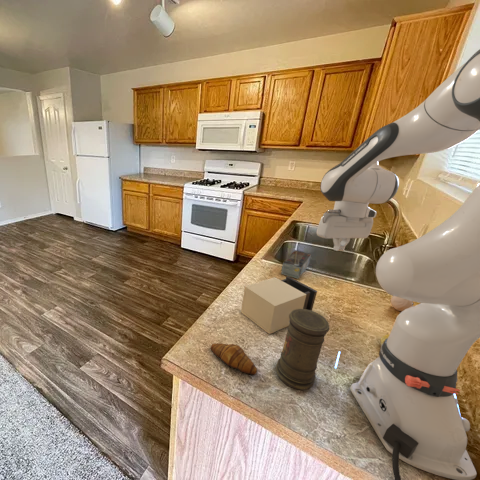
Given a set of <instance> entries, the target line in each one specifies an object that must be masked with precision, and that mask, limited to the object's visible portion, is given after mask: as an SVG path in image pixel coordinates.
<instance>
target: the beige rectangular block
mask: <svg viewBox="0 0 480 480" xmlns="http://www.w3.org/2000/svg"><path fill="white" fill-rule="evenodd" d="M281 280H282V279H280V278H277V277H275V276H273V277H271V278H268V279H264V280H261V281H257V282H255V283H251V284H247V285H245V286H244V289H243V295H242V303H241V309H240V313H241V314H243V315H244V316H245V317H246V318H248V319H249V320H250V321H252V323H254V324H256V325H257V326H258V327H259V328H261V329H262V330H263V331H264V332H266V333H267V334H268V335H271V334H273V333H275V332H278V331H280V330H282V329H285V328H288V326H289V324H290V323H289V320H290V319H289V315H290V313H291V312H292V311H293V310H295V309H303V306H304V302H305V299H306V295H307V294H305V293H303V292H301V291H299V290H298V289H296V288H294V287H292V286H290V285H288V284H287V283H285V282H283V281H281Z"/></svg>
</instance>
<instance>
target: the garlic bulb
mask: <svg viewBox="0 0 480 480" xmlns="http://www.w3.org/2000/svg"><path fill="white" fill-rule="evenodd" d="M390 305H391V306H392V308H393V309H394V310H396V311H398V312H402V311H403V310H405V309H407V308H410V307H413V306H414V305H415V303H414V301H410V300H406V299H403V298H399V297H396V296H391V298H390Z"/></svg>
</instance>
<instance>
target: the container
mask: <svg viewBox="0 0 480 480" xmlns="http://www.w3.org/2000/svg"><path fill="white" fill-rule="evenodd" d="M289 319H290V320H289V323H290V324H289V326H287V327H286V329H287V330H286V334H285V339H284V343H283V347H282V350H281V353H280V358H279V359H278V360H277V363H276V365H275V372H276V375H277V377H278V378H279V380H280V381H281V382H282V383H284V385H286V386H288V387H290V388H293V389H294V390H300V391H305V390H309V389H311V388H312V387H313V386H314V385H315V381H316V380H315V379H316V377H317V376H316V375H317V374H316V370H317V367H318V361H319V357H320V354H321V351H322V347H323V344H324V342H325V336H327V333H328V332H329V331H330V323H329V321H328V320H327V319H326V317H324V316H323V315H322V314H320V313H318V312H316V311H314V310H312V311H311V310H307V309H295V310H293V311H292V312H291V313H290V315H289Z"/></svg>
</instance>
